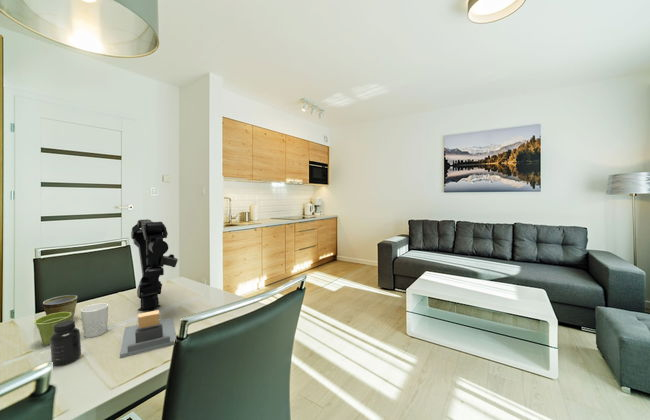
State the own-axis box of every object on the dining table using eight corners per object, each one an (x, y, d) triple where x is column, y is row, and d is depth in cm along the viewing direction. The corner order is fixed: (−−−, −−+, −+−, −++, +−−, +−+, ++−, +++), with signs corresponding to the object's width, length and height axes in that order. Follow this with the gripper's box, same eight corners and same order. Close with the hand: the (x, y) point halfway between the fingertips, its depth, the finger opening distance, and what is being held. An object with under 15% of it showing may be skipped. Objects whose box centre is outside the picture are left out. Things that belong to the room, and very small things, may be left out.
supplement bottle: (64, 354, 89) (62, 318, 88) (86, 353, 90) (85, 318, 89) (44, 367, 82) (42, 329, 82) (68, 366, 83) (67, 328, 82)
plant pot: (39, 351, 90) (38, 326, 90) (32, 343, 95) (30, 319, 95) (76, 339, 98) (75, 315, 98) (67, 331, 103) (66, 309, 103)
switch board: (125, 330, 105) (124, 317, 105) (172, 320, 113) (172, 308, 113) (120, 358, 87) (119, 342, 87) (176, 343, 96) (176, 329, 96)
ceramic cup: (83, 320, 112) (82, 297, 112) (51, 331, 103) (49, 306, 103) (67, 314, 118) (66, 292, 117) (35, 324, 109) (34, 300, 108)
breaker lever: (137, 327, 95) (136, 314, 92) (160, 322, 99) (160, 309, 95) (137, 331, 94) (136, 317, 91) (160, 326, 98) (160, 313, 94)
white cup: (113, 329, 105) (113, 304, 105) (90, 340, 98) (89, 313, 97) (100, 326, 108) (99, 301, 107) (76, 336, 100) (75, 309, 100)
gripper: (177, 253, 110) (178, 291, 111) (175, 246, 126) (176, 279, 127) (144, 256, 105) (145, 296, 105) (146, 248, 121) (147, 283, 121)
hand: (155, 288), depth 115 cm, fingers closed
